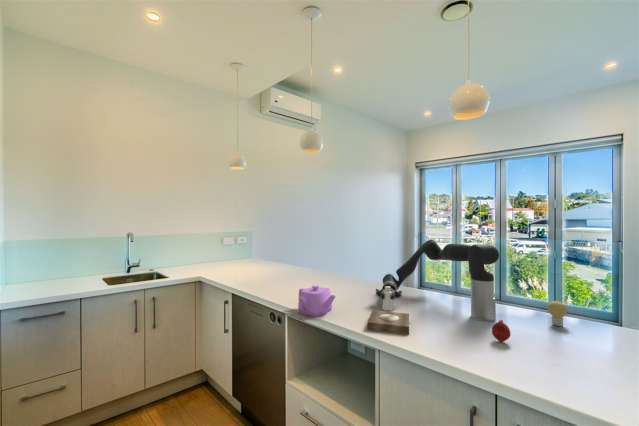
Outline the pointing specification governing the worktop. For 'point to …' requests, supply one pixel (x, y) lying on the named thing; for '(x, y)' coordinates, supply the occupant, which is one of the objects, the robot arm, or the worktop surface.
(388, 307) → the pepper shaker
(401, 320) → the walnut plinth
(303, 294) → the teakettle
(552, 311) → the light bulb
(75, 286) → the worktop surface
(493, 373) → the worktop surface
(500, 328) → the onion
